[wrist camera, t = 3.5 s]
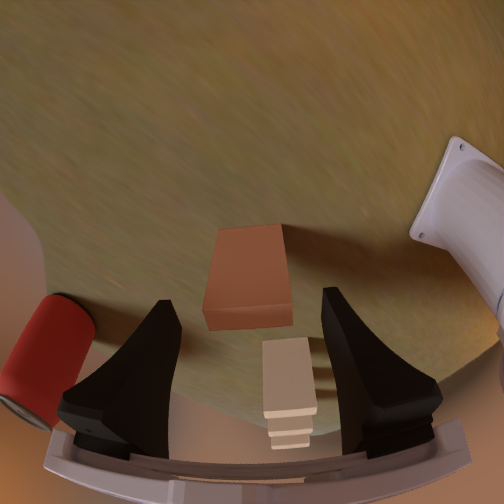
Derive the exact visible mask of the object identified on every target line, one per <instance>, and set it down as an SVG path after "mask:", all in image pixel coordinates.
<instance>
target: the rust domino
mask: <svg viewBox="0 0 504 504" xmlns="http://www.w3.org/2000/svg"><path fill="white" fill-rule="evenodd" d="M202 311H203V314H204V317H205V320H206V323H207V326H208V329H209V331H218V330H238V329H255V328H269V327H282V326H293V306H292V296H291V289H290V281H289V274H288V267H287V260H286V253H285V246H284V240H283V233H282V226H281V224H273V225H262V226H251V227H241V228H230V229H220V230H218V233H217V238H216V243H215V247H214V252H213V257H212V262H211V267H210V272H209V277H208V282H207V287H206V292H205V297H204V302H203V307H202Z"/></svg>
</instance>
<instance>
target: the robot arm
mask: <svg viewBox="0 0 504 504" xmlns="http://www.w3.org/2000/svg"><path fill="white" fill-rule="evenodd" d="M461 144H462V148H461V149H460V145H461ZM421 233H422V235H420V234H421ZM409 235H410V237H411V238H412V239H413V240H417V241H420V242H423V243H426V244H429V245H432V246H435V247H438V248H441V249H444V250H447V251H448V252H449V253H450V254H451V255H452V257H453V258H454V259H455V260H456V262H457V263H458V264H459V266H460V267H461V268H462V270H463V271H464V272H465V274H466V275H467V276H468V278H469V279H470V280H471V282H472V283H473V285H474V286H475V287H476V289H477V290H478V292H479V293H480V295H481V296H482V298H483V299H484V301H485V302H486V304H487V305H488V307H489V308H490V310H491V311H492V313H493V314H494V316H495V318H496V319H497V320H498V322H499V329H498V331H497V335H498V337H499V339H500V341H501V343H502V344H503V346H504V169H503V168H502V167H500V166H499V165H498V164H496V163H495V162H494V161H493V160H491V159H490V158H489V157H487V156H486V155H485V154H483V153H482V152H480V151H479V150H478V149H476V148H475V147H473V146H472V145H470V144H469V143H467V142H466V141H465V140H463V139H461V138H460V137H458V136H453V137H451V139H450V141H449V144H448V147H447V149H446V152H445V154H444V157H443V159H442V162H441V164H440V167H439V169H438V171H437V174H436V176H435V178H434V181H433V183H432V185H431V187H430V190H429V192H428V194H427V196H426V198H425V200H424V203H423V205H422V207H421V209H420V211H419V213H418V215H417V217H416V219H415V221H414V223H413V225H412V227H411V229H410V231H409ZM419 235H420V236H419ZM321 321H322V328H323V334H324V339H325V343H326V346H327V350H328V354H329V358H330V361H331V365H332V369H333V373H334V377H335V382H336V388H337V395H338V403H339V412H340V423H341V436H342V454H343V455H342V456H337V457H330V458H323V459H316V460H307V461H299V462H287V463H270V464H216V463H200V462H188V461H178V460H170V459H169V450H168V416H169V401H170V391H171V385H172V380H173V375H174V371H175V367H176V362H177V358H178V353H179V349H180V343H181V333H182V326H181V324H180V322H179V319H178V317H177V315H176V312H175V310H174V307H173V305H172V302H171V300H159V301H158V302H157V303H156V305H155V306H154V307H153V308H152V310H151V311H150V312H149V314H148V315H147V316H146V318H145V319H144V320H143V322H142V323H141V324H140V325H139V327H138V328H137V329H136V330H135V332H134V333H133V334H132V335H131V336H130V338H129V339H128V340H127V341H126V342H125V343H124V345H123V346H122V347H121V348H120V349H119V350H118V351H117V352H116V353H115V354H114V355H113V356H112V357H111V358H110V359H109V360H108V361H107V362H105V363H104V364H103V365H102V366H101V367H100V368H98V369H97V370H96V371H95V372H94V373H92V374H91V375H90V376H88V377H87V378H85V379H84V380H83V381H81V382H80V383H78V384H76V385H75V386H73V387H71V388H70V389H68V390H66V391H64V392H63V394H62V397H61V400H60V402H59V405H58V408H57V411H56V414H57V416H58V417H59V418H60V419H61V420H62V421H63V422H65V423H66V424H67V425H69V426H70V427H71V428H73V429H74V430H76V434H75V436H74V435H72V434H70V433H67V432H64V431H61V430H58V429H56V428H55V429H54V431H53V434H52V437H51V441H50V444H49V447H48V451H47V454H46V458H45V462H44V468H45V469H47V470H49V471H51V472H53V473H55V474H57V475H59V476H61V477H64V478H66V479H68V480H70V481H72V482H75V483H77V484H80V485H83V486H85V487H88V488H91V489H93V490H96V491H99V492H102V493H105V494H108V495H112V496H115V497H118V498H122V499H125V500H129V501H132V502H136V503H140V504H367V503H371V502H375V501H379V500H383V499H386V498H390V497H393V496H396V495H399V494H402V493H405V492H408V491H411V490H414V489H417V488H420V487H422V486H425V485H428V484H430V483H432V482H435V481H437V480H440V479H442V478H445V477H447V476H449V475H451V474H453V473H455V472H457V471H459V470H461V469H463V468H464V467H466V466H468V465H470V464H471V463H472V459H471V455H470V451H469V448H468V444H467V441H466V438H465V434H464V431H463V427H462V424H461V421H460V418H456V419H453V420H451V421H448V422H446V423H443V424H440V425H438V426H436V427H434V428H432V425H431V423H432V422H433V418H432V413H433V412H434V411H435V410H436V409H437V408H438V407H439V405H440V404H441V403H442V400H443V396H442V394H441V391H440V389H439V386H438V384H437V383H436V381H435V379H433V378H431V377H430V376H428V375H426V374H424V373H423V372H421V371H419V370H417V369H416V368H414V367H413V366H411V365H410V364H408V363H407V362H406V361H404V360H403V359H402V358H401V357H399V356H398V355H397V354H395V353H394V352H393V351H392V350H391V349H389V348H388V347H387V346H386V345H385V344H384V343H383V342H382V341H381V340H380V339H379V338H378V337H377V336H376V335H375V334H374V333H373V332H372V331H371V330H370V329H369V328H368V327H367V326H366V325H365V323H364V322H363V321H362V320H361V319H360V317H359V316H358V315H357V314H356V313H355V311H354V310H353V309H352V307H351V306H350V305H349V303H348V302H347V301H346V299H345V298H344V296H343V295H342V294H341V292H340V291H339V289H338V288H337V287H327V288H323V298H322V312H321ZM499 378H500V383H501V387H502V390H503V393H504V348H503V350H502V353H501V356H500V360H499ZM172 475H176V476H184V477H194V478H205V479H220V480H221V479H222V480H273V479H289V478H301V477H306V478H305V479H304V483H284V484H259V483H229V482H209V481H197V480H187V479H179V478H178V477H176V476H172Z"/></svg>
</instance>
